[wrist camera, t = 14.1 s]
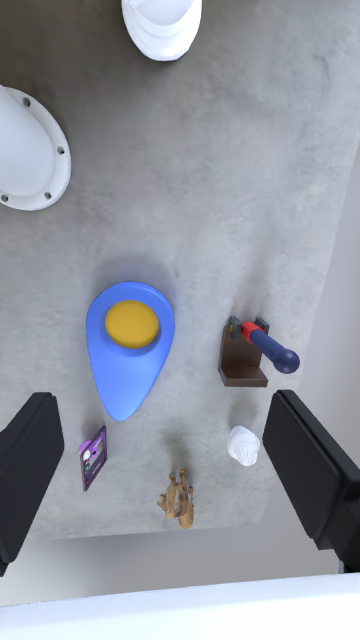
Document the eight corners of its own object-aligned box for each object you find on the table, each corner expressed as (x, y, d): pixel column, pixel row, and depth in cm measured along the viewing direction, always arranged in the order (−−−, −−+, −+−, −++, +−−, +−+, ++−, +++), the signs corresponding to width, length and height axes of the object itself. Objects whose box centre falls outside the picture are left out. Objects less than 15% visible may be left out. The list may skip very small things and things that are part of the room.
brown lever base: (225, 316, 37) (233, 327, 33) (265, 317, 38) (280, 329, 33) (217, 369, 41) (224, 386, 36) (255, 370, 41) (266, 387, 37)
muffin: (228, 446, 47) (238, 479, 41) (219, 425, 45) (228, 457, 39) (256, 436, 47) (271, 469, 40) (248, 415, 45) (262, 445, 38)
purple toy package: (88, 493, 40) (85, 456, 37) (64, 484, 41) (59, 447, 38) (110, 461, 46) (108, 426, 43) (88, 453, 48) (85, 419, 45)
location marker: (155, 413, 44) (181, 289, 35) (154, 427, 41) (182, 295, 32) (86, 405, 42) (95, 273, 34) (79, 419, 39) (87, 277, 30)
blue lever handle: (282, 354, 23) (278, 378, 24) (307, 355, 23) (302, 378, 24) (240, 320, 36) (238, 336, 37) (256, 321, 36) (254, 337, 37)
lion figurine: (155, 466, 48) (153, 515, 40) (178, 458, 48) (180, 505, 39) (183, 506, 53) (186, 557, 44) (203, 499, 52) (211, 548, 44)
